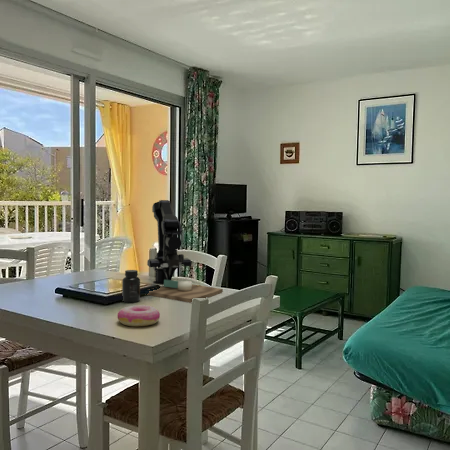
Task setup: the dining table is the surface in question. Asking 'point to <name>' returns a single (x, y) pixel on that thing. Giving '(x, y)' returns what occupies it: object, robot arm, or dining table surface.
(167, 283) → the green and white block
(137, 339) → the dining table surface
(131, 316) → the donut
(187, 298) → the walnut base
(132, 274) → the supplement bottle
